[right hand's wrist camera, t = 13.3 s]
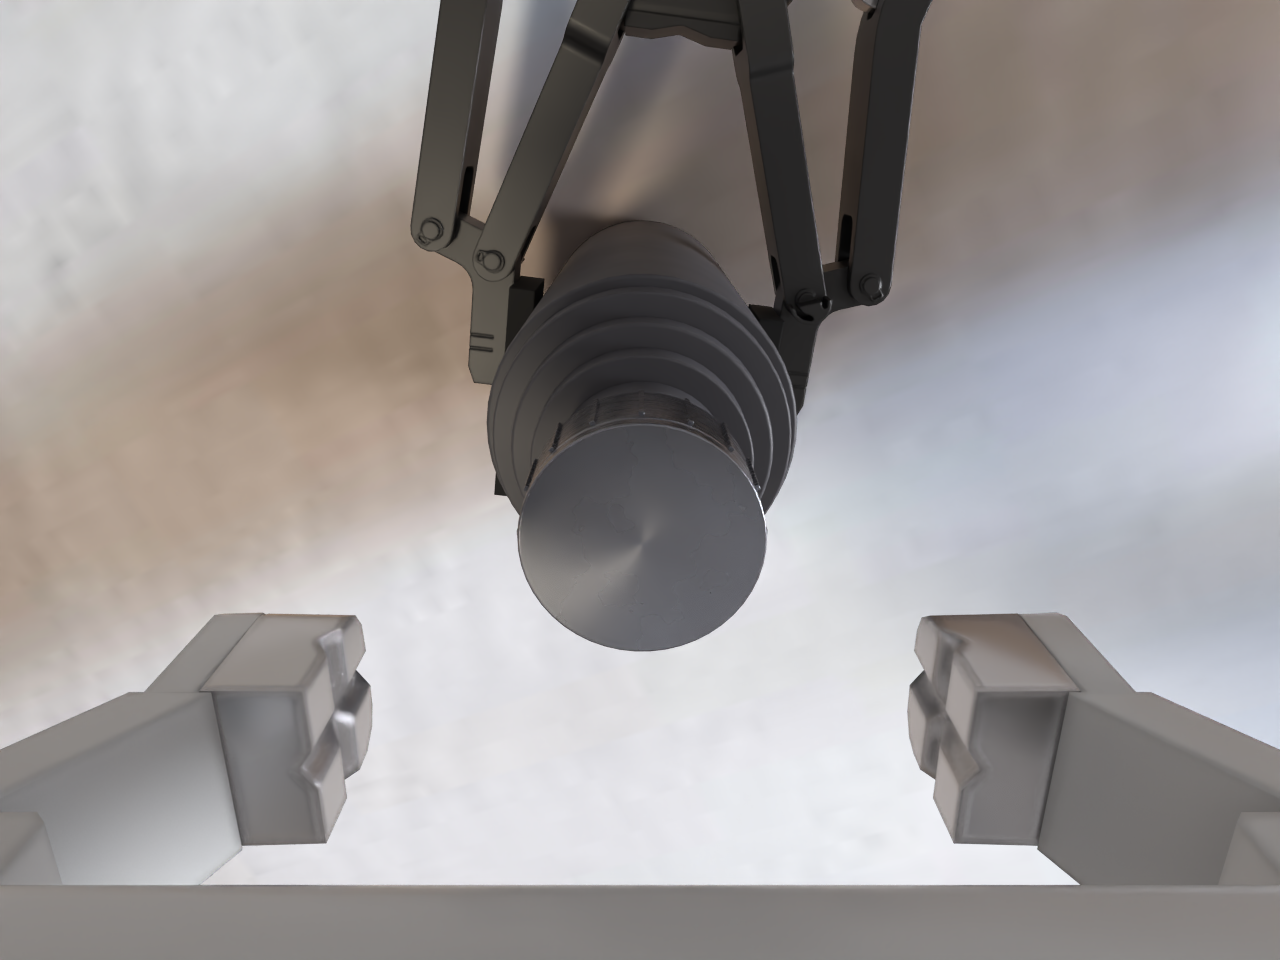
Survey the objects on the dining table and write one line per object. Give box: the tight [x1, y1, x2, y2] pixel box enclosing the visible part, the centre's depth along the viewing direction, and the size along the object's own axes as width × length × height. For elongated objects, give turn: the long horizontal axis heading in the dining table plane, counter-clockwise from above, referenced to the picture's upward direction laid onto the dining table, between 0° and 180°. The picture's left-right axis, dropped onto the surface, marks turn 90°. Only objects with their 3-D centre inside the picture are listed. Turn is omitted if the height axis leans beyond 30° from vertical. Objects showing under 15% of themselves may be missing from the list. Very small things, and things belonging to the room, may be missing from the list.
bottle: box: [487, 221, 797, 515], centre depth 24 cm, size 7×7×21 cm
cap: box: [517, 390, 767, 651], centre depth 14 cm, size 4×4×2 cm
